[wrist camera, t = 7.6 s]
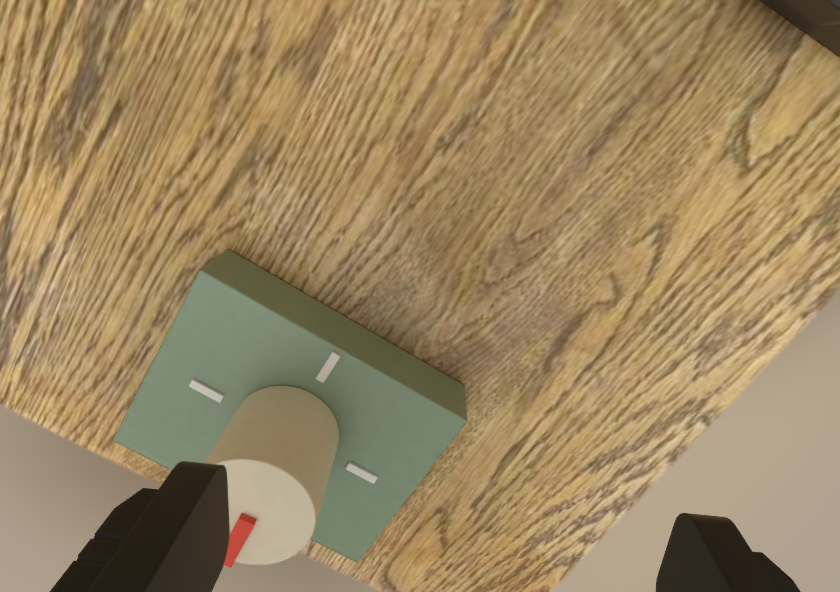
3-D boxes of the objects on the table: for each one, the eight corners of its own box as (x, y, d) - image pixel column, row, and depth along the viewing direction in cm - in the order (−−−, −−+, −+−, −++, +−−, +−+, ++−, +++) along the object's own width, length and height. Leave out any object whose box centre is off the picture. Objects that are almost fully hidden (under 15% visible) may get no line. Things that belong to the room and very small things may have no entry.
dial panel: (464, 384, 26) (468, 423, 23) (365, 517, 28) (357, 566, 26) (227, 247, 24) (197, 270, 21) (146, 403, 27) (109, 443, 24)
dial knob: (258, 367, 22) (209, 443, 17) (357, 414, 23) (336, 501, 18) (217, 448, 24) (161, 540, 19) (312, 491, 24) (281, 590, 19)
